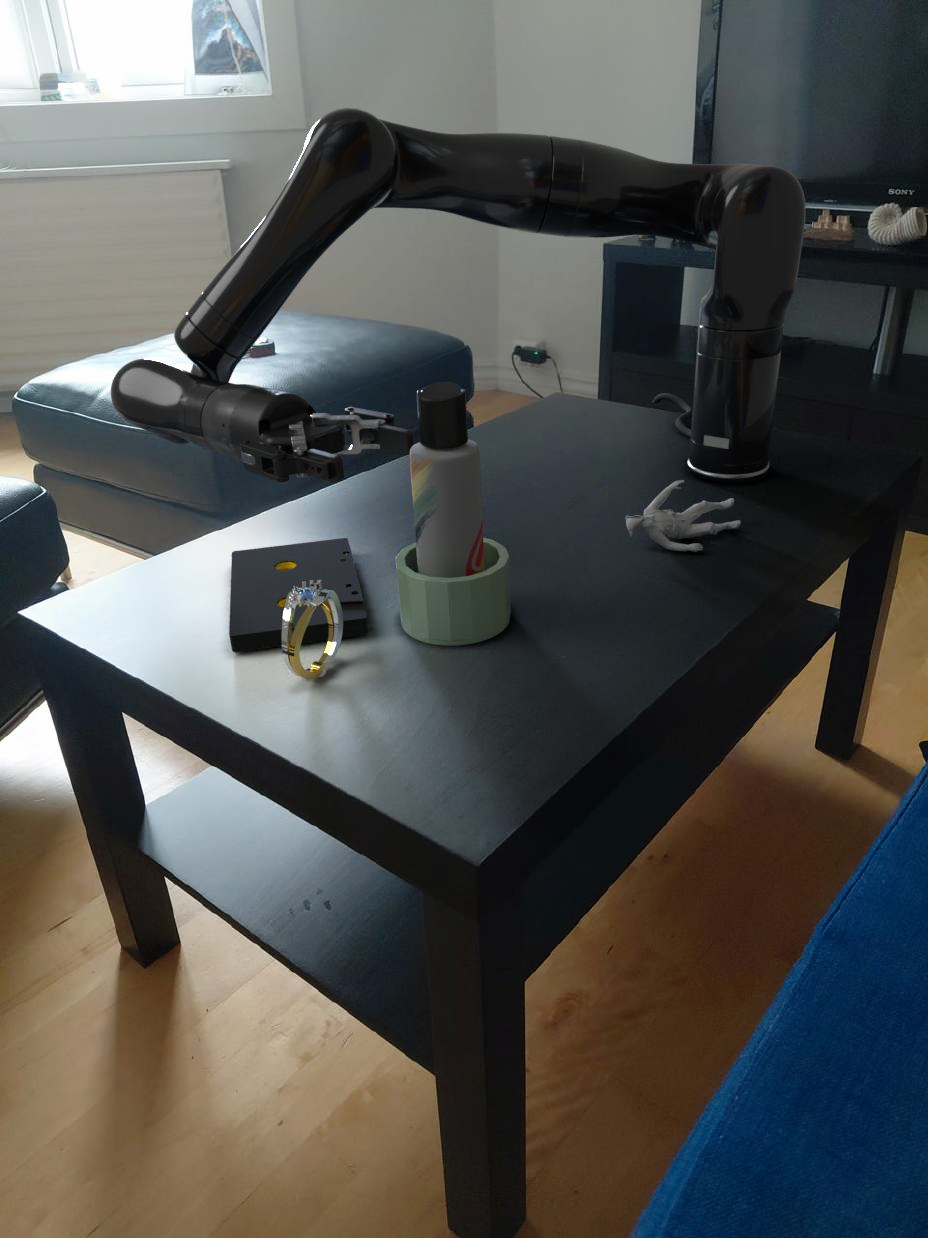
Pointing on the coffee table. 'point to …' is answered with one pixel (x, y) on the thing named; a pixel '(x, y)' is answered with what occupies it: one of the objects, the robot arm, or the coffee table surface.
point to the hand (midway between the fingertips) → (377, 456)
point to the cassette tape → (273, 575)
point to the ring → (293, 642)
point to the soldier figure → (678, 521)
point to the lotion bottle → (446, 486)
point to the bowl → (455, 599)
